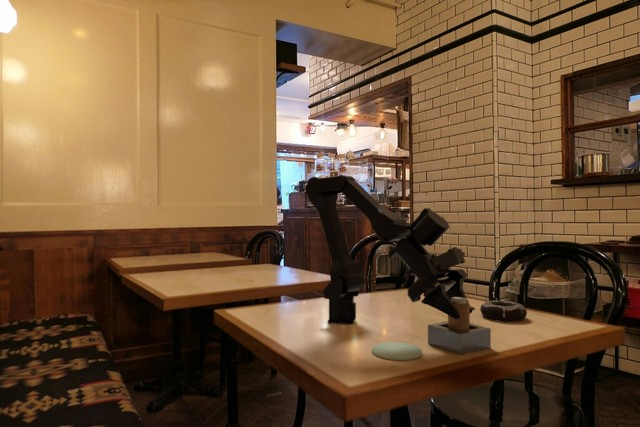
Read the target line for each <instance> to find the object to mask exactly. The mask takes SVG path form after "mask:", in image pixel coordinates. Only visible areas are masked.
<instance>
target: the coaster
mask: <svg viewBox="0 0 640 427" xmlns="http://www.w3.org/2000/svg"><path fill="white" fill-rule="evenodd" d="M371 354H373V355H374V356H376V357H378V358H381V359H385V360H391V361H411V360H416V359H419V358H421V356H422V355H423V350H422V348H420V347H419V346H417V345H415V344H413V343H412V344H411V343H408V342H407V343H406V342H400V341H399V342H397V341H388V342H387V341H386V342H379V343H376V344H373V345H372V347H371Z"/></svg>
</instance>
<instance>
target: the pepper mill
mask: <svg viewBox="0 0 640 427" xmlns="http://www.w3.org/2000/svg"><path fill="white" fill-rule="evenodd" d="M466 298H467V297H466ZM466 298H462V297H452V298H451V302H452V303H453V305H454V306H455V308H456V309H457V311H458V312H459V314H460V318H458V319H455V318H453V317H451V316H449V315H447V321H448V328H449V329H453V330H456V331H459V332H461V331H466V330H470V323H471V322H470V318H471V315H470V306H471V304H470V303H467V300H468V298H467V299H466Z"/></svg>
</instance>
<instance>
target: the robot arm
mask: <svg viewBox="0 0 640 427" xmlns="http://www.w3.org/2000/svg"><path fill="white" fill-rule="evenodd" d="M305 193H306V195H307V198H308V200H309V203H311V204H312V206H313V207H314V208H315V209H316V210H317V212H318V215H319V218H320V220H319V221H320V222H321V226H322V231H323V234H324V237H325V240H326V244H327V248H328V252H329V255H330V259H331V265H330V266H331V267H330V270H329V277H330V282H329V283H328V284H327V285H326V287H324V289H323V290H322V293H323V297H324V299H325V300H328V320H327V323H328V324H344V325H345V324H346V325H352V324H354V321H356V319H357V302H355V297H359V294H360V291H361V289H362V288H363V286H364V283H365V279H364V277H365V273H364V272H363V269H362V263H361V261H360V260H357V261H354V259H353V258H352V256H351V255H350V251H349V249H348V244H347V241H346V237H345V235H344V231H343V227H342V224H341V220H340V217H339V213H338V210H337V202H338V197H339V194H343V195H344V196H345V197H346V198H347V199H348V201H350V202H351V203H352V204H353V205H354V206H355V207H356V208H357V209H358V210H359V211H360V212H361V213H362V214H363V215H364V216H365V217H366V218H367V220H368V221H369V224H370V227H371V229H372V231H373V232H374V234H375V235H376V236H377V237H378V239H379V240H380V241H383V242H395V241H396V242H397V243H395V244H394V245H389V246H388V248H389V249H388V250H389V251H388V255H387V256H388V257H387V258H397V257H399V258H400V259H401V261H402V262H403V263H404V264H405V265H406V266H407V268H408V269H409V270H408V271H407V273H408V274H409V276H415V277H416V281H414V282H413V283H412V284H411V285H410V287H408V288H407V297H408V298H409V299H410V301H411V302H412V303H417V302H419V301H420V302H421V304H423V303H425V304H424V305H427V306H429V307H432V308H433V309H436V310H438V311H439V312H442V313H444V314H445V315H447V316H448V315H449V316H451V317H453V318H455V319H458V318H460V314H459V312H458V311H457V309H456V308H455V306H454V305H453V303H452V302H451V298H452V297H462V298H466V299H467V303H469V300H468V298H467V296H466V294H465V291H464V288H463V286H464V282H465V280H466V278H468V273H467V272H466V271H465V270H464V269H463V268H453V267H455V266H457V265H462V264H465V263H466V260H465V255H466V253H465V252H464V251H462V249H461V248H459V247H457V246H453V247H451V248H448V249H447V251H445V252H443V253H440V254H438V255H437V254H435V253H430V252H428V250H427V249H426V246H431V247H432V246H433V245H435V244H436V243H437V241H439V239H441V237H442V236H443V235H444V234H445V233H447V231H448V230H449V229H450V224H449V223H448V221H447V220H446V219H445V218H444V217H442V216H441V215H439V214H438V213H436V212H434V211H433V210H431V208H429V207H424V208H423V209H422V210H421V212H420V214H419V215H417V217H416V218H415V220H414V221H413V222H407V220H406V219H405V218H403V217H402V216H400V215H399V214H397V213H396V212H394V211H392V210H389V209H387V208H385V207H384V206H383V205H381V203H379V202H378V201H377V200H376V199H375V198H374V197H373V195H371V194H370V193H369V192H367V190H366V189H365V188H364V187H363V186H362V185H360V184H359V183H358V181H357V180H356V179H355V178H354V176H350V175H343V174H341V175H337V176H330V177H329V176H328V177H321V176H320V177H319V176H312V177H310V178H309V179H308V181H307V182H306V184H305ZM451 268H453V269H451ZM421 296H423V297H424V298H423V299H421V298H422V297H421ZM469 304H470V303H469ZM472 313H473V310H472V309H471V305H470V314H472Z"/></svg>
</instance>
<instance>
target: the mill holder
mask: <svg viewBox="0 0 640 427" xmlns="http://www.w3.org/2000/svg"><path fill="white" fill-rule="evenodd" d="M491 330H492V329H491V328H490V327H486V326H482V325H479V324H474V323H472V322H470V330H466V331H461V332H459V331H456V330H453V329H449V328H448V320H447V321H441V322H436V323H430V324H427V344H429V345H431V346H432V345H433V346H435V347H438V348H440V349H444V350H446V351H449V352H452V353H455V354H458V355H465V354H469V353H473V352H474V353H475V352H478V351H482V350H487V349H490V348H491V343H492V342H491V341H492V340H491V338H492V337H491V333H492V332H491Z"/></svg>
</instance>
